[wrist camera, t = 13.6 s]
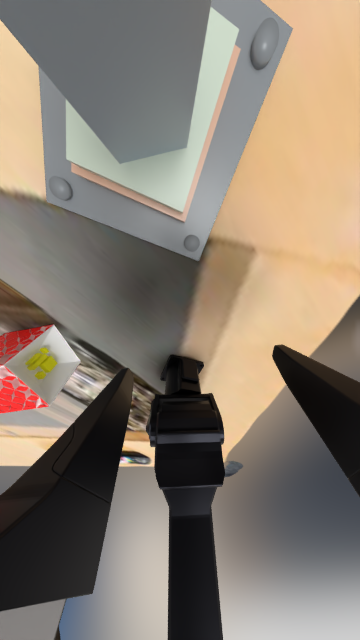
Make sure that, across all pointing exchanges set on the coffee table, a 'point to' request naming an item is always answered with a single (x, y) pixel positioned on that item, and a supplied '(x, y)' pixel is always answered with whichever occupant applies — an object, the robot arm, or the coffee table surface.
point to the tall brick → (119, 64)
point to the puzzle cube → (33, 367)
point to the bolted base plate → (180, 165)
